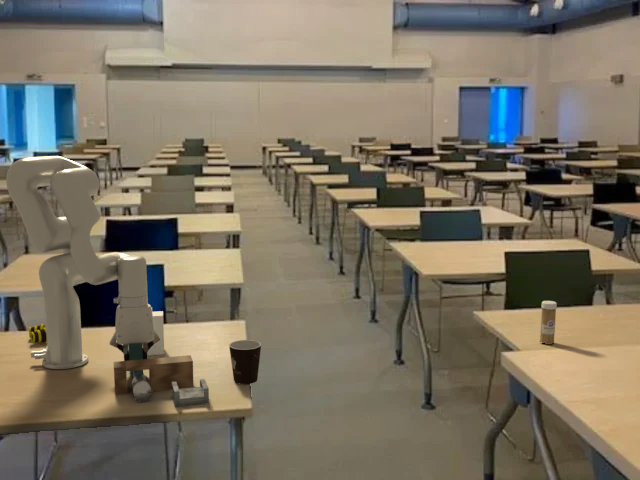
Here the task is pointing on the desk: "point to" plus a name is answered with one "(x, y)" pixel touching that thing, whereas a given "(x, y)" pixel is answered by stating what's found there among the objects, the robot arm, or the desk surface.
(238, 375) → the dark brown paper cup
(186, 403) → the cradle
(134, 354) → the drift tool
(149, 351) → the corner bracket
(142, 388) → the axle
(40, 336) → the opera glasses
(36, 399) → the desk surface
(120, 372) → the wooden panel with opening
